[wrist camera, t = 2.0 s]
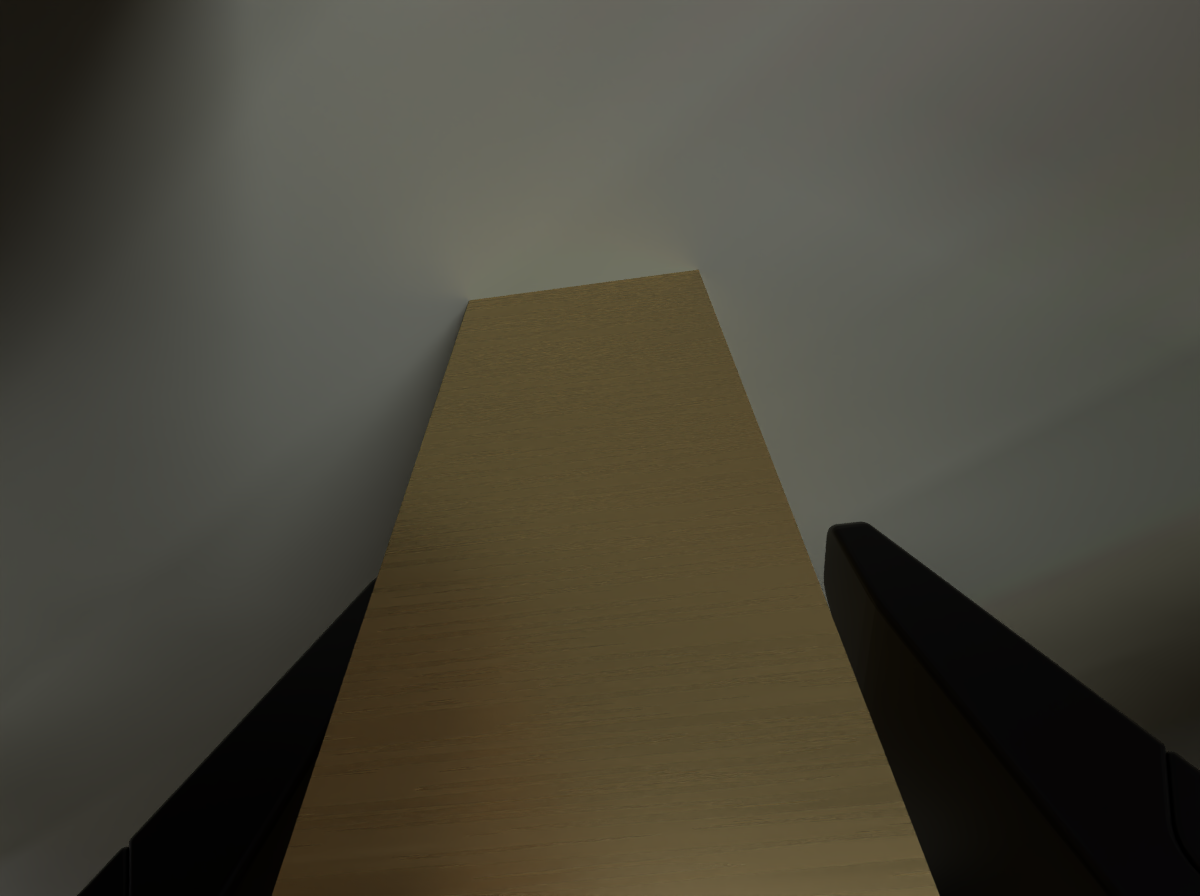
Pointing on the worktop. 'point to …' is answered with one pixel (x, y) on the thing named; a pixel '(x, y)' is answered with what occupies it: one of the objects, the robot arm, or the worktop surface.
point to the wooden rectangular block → (599, 640)
